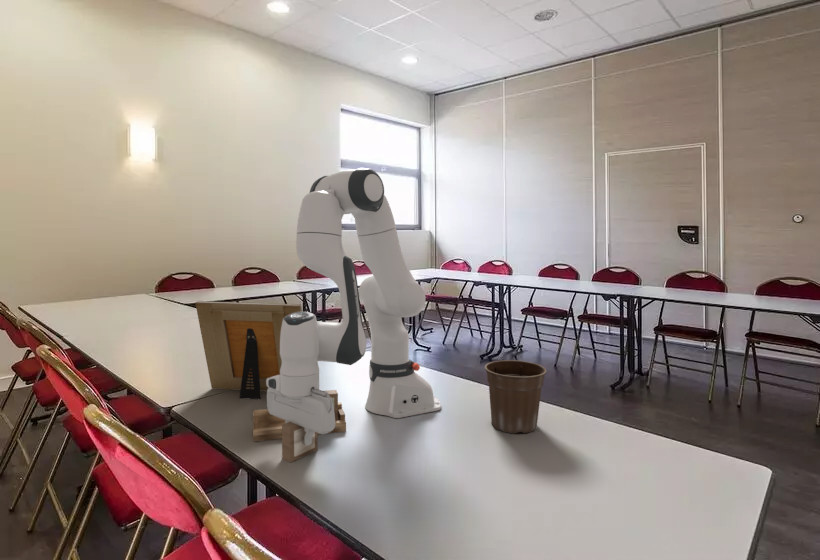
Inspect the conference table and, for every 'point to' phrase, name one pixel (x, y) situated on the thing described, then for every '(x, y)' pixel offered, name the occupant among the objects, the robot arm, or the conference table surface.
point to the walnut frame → (296, 442)
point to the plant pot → (514, 394)
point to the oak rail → (272, 425)
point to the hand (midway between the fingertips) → (300, 441)
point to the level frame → (334, 401)
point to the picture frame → (242, 343)
